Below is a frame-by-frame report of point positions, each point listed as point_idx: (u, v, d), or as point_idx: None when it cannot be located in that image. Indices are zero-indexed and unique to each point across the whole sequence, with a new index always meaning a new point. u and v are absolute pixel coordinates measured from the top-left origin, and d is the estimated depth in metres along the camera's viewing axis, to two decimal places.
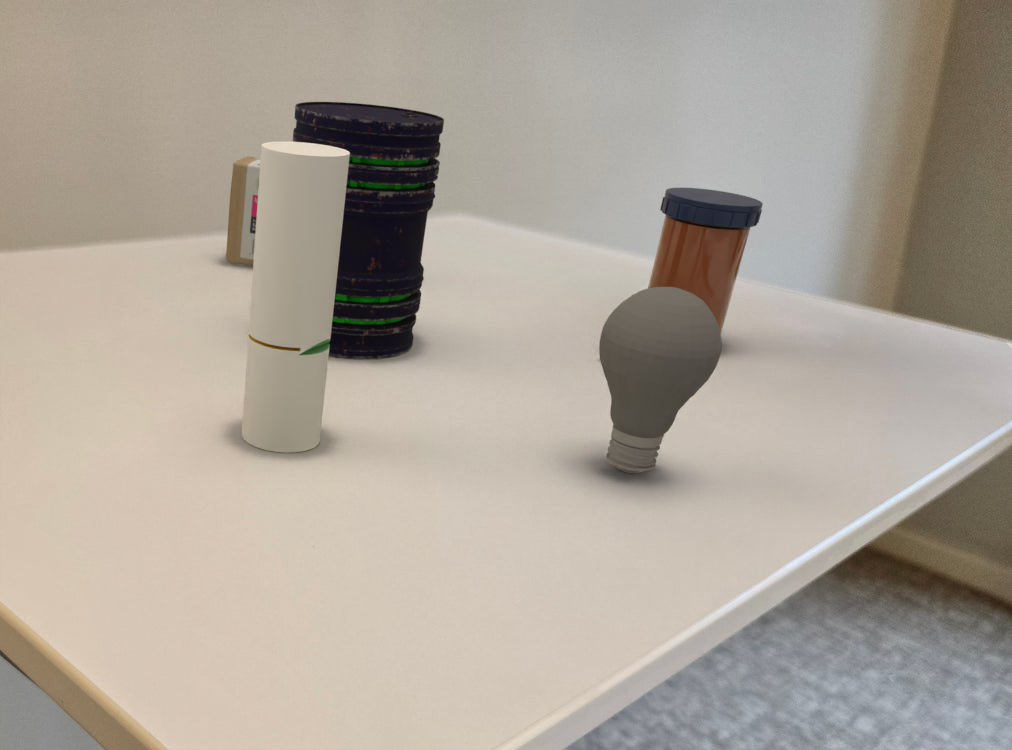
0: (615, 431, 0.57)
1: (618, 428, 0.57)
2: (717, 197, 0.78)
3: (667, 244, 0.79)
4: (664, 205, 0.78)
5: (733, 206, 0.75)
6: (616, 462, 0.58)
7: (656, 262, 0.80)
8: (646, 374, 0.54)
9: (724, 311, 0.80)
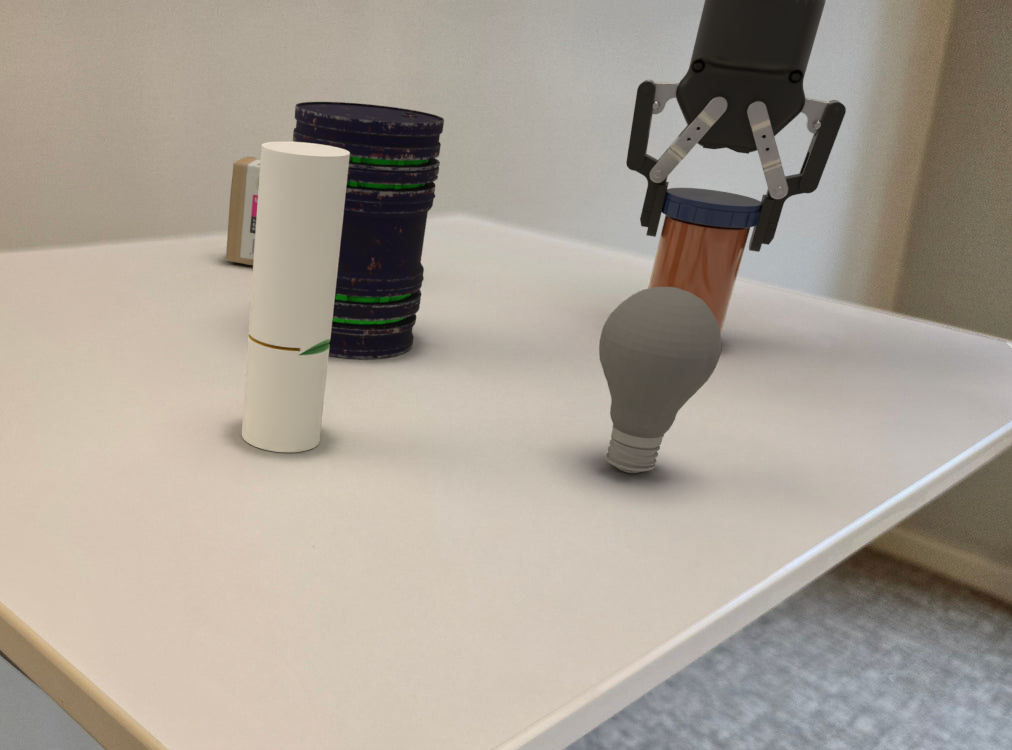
0: (615, 431, 0.57)
1: (618, 428, 0.57)
2: (717, 197, 0.78)
3: (667, 244, 0.79)
4: (664, 205, 0.78)
5: (733, 206, 0.75)
6: (616, 462, 0.58)
7: (656, 262, 0.80)
8: (646, 374, 0.54)
9: (724, 311, 0.80)
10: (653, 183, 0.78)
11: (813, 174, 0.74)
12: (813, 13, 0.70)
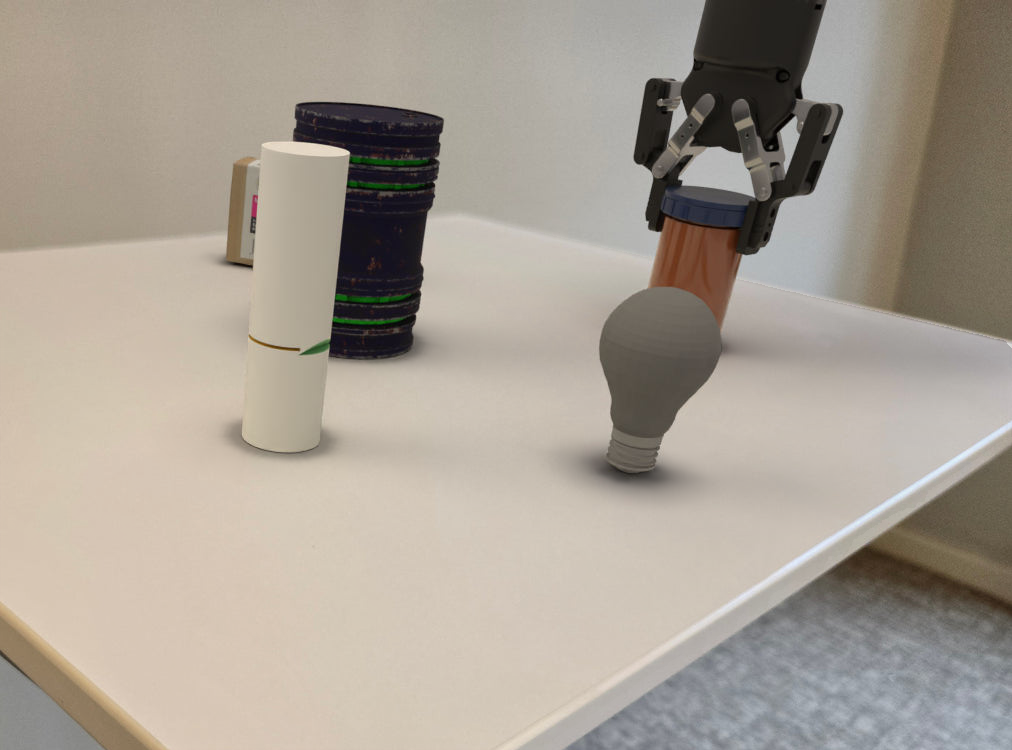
0: (615, 431, 0.57)
1: (618, 428, 0.57)
2: (712, 194, 0.78)
3: (667, 244, 0.79)
4: None
5: (719, 189, 0.80)
6: (616, 462, 0.58)
7: (656, 262, 0.80)
8: (646, 374, 0.54)
9: (724, 311, 0.80)
10: None
11: None
12: None
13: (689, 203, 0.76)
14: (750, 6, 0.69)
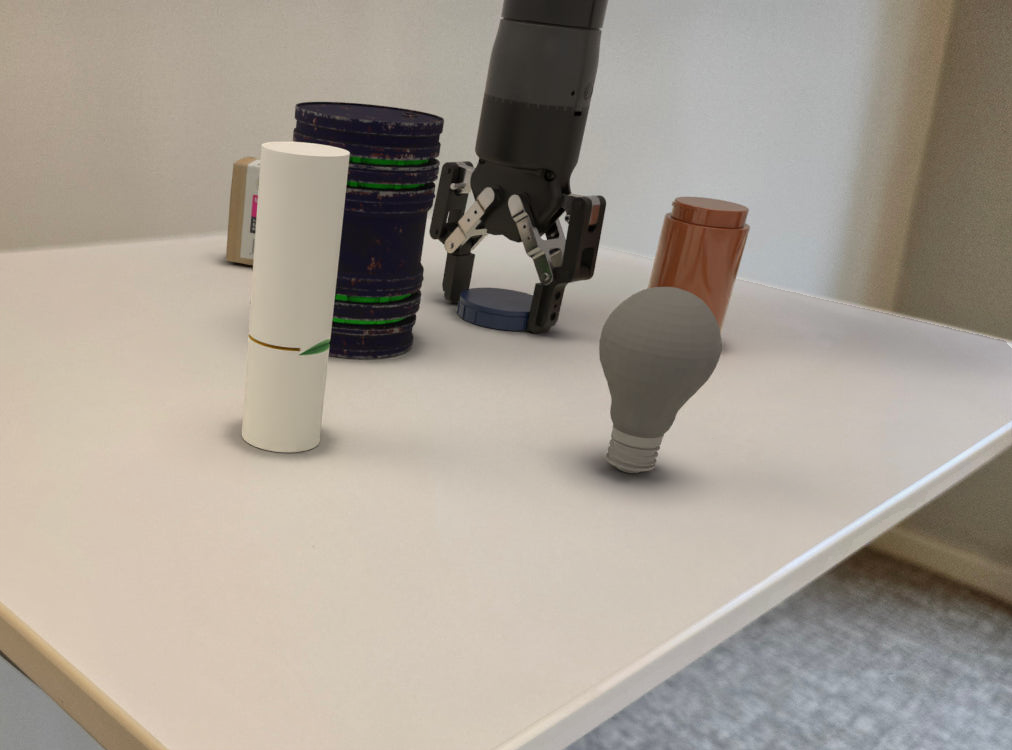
0: (615, 431, 0.57)
1: (618, 428, 0.57)
2: (503, 298, 0.84)
3: (667, 244, 0.79)
4: None
5: (515, 291, 0.86)
6: (616, 462, 0.58)
7: (656, 262, 0.80)
8: (646, 374, 0.54)
9: (724, 311, 0.80)
10: None
11: None
12: None
13: (476, 309, 0.81)
14: (514, 113, 0.74)
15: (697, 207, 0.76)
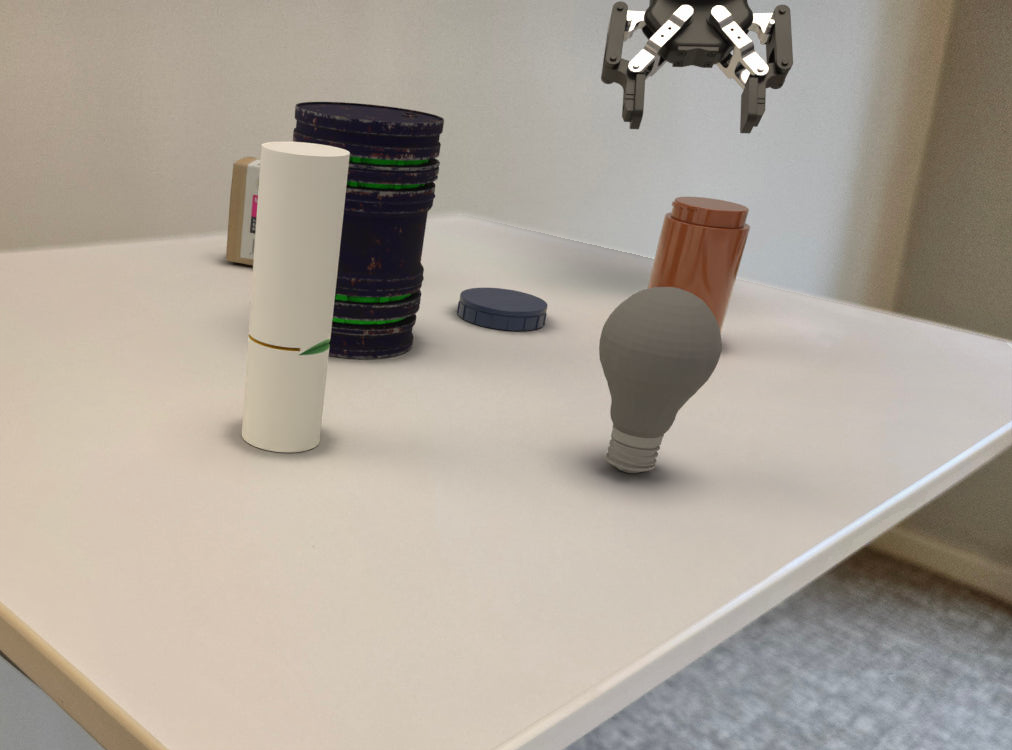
0: (615, 431, 0.57)
1: (618, 428, 0.57)
2: (503, 298, 0.84)
3: (667, 244, 0.79)
4: (542, 320, 0.82)
5: (515, 291, 0.86)
6: (616, 462, 0.58)
7: (656, 262, 0.80)
8: (646, 374, 0.54)
9: (724, 311, 0.80)
10: None
11: None
12: None
13: (476, 309, 0.81)
14: None
15: (697, 207, 0.76)
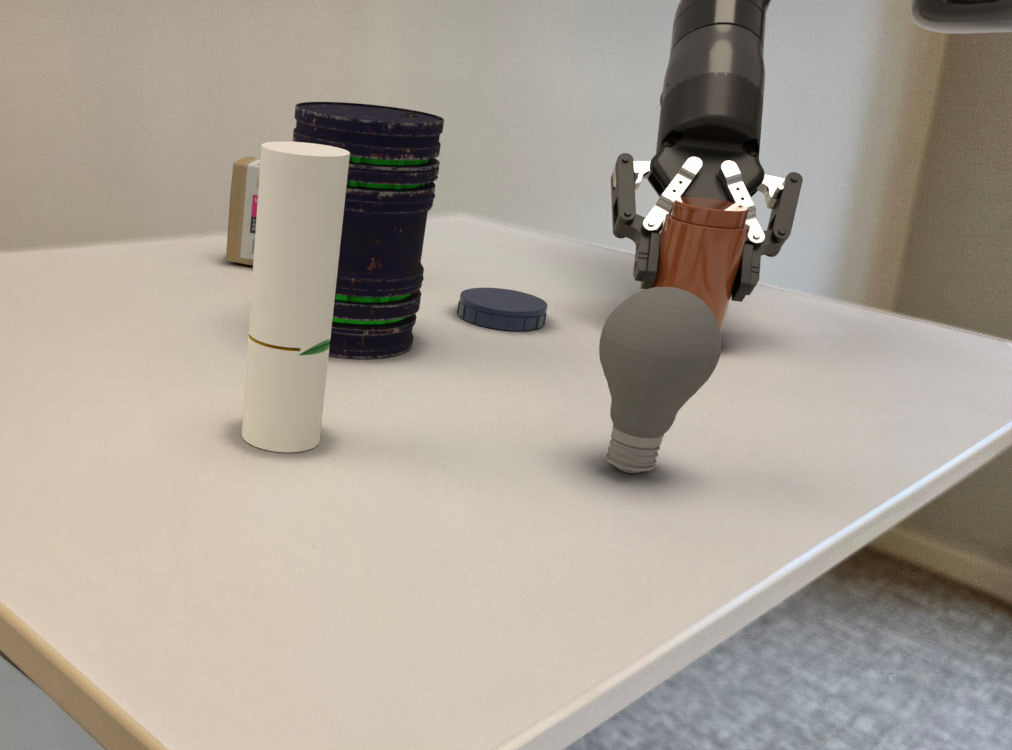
0: (615, 431, 0.57)
1: (618, 428, 0.57)
2: (503, 298, 0.84)
3: (667, 244, 0.79)
4: (542, 320, 0.82)
5: (515, 291, 0.86)
6: (616, 462, 0.58)
7: None
8: (646, 374, 0.54)
9: (724, 311, 0.80)
10: None
11: None
12: None
13: (476, 309, 0.81)
14: (738, 84, 0.80)
15: (697, 207, 0.76)
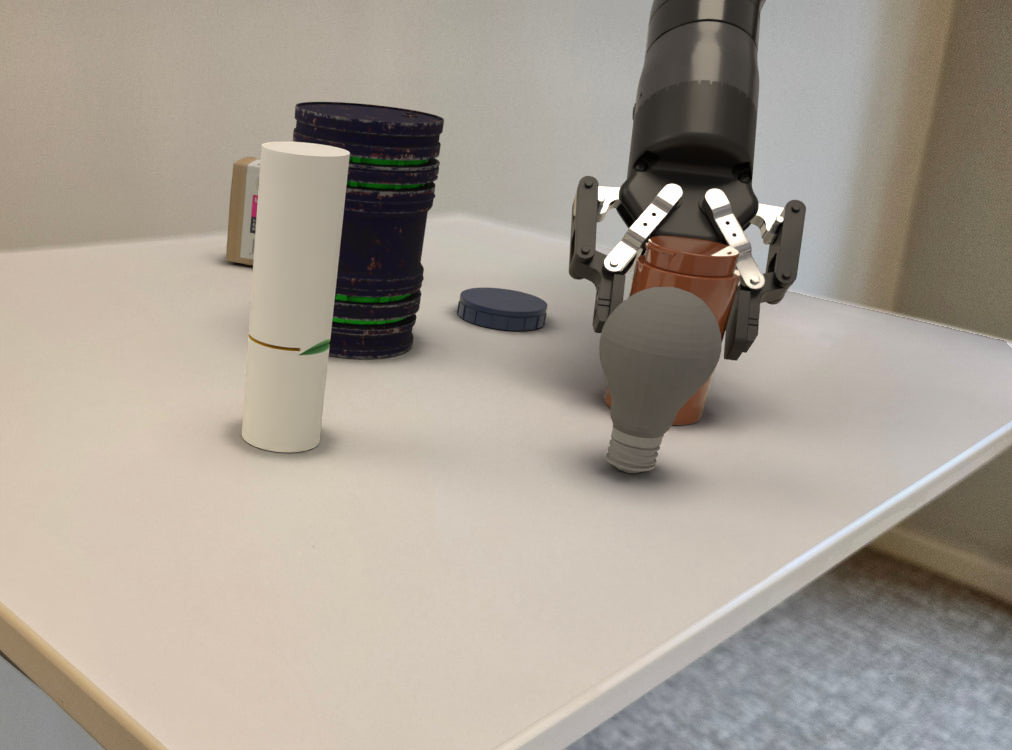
0: (615, 431, 0.57)
1: (618, 428, 0.57)
2: (503, 298, 0.84)
3: None
4: (542, 320, 0.82)
5: (515, 291, 0.86)
6: (616, 462, 0.58)
7: None
8: (646, 374, 0.54)
9: None
10: None
11: None
12: None
13: (476, 309, 0.81)
14: (727, 94, 0.66)
15: (675, 251, 0.62)
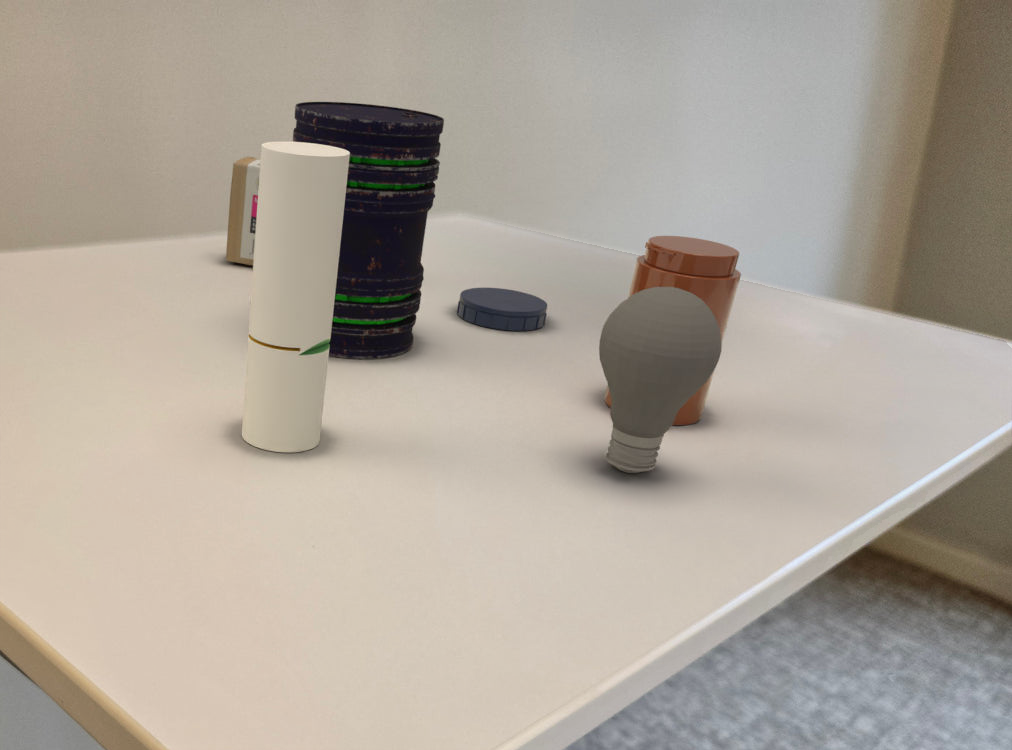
0: (615, 431, 0.57)
1: (618, 428, 0.57)
2: (503, 298, 0.84)
3: None
4: (542, 320, 0.82)
5: (515, 291, 0.86)
6: (616, 462, 0.58)
7: None
8: (646, 374, 0.54)
9: None
10: None
11: None
12: None
13: (476, 309, 0.81)
14: None
15: (675, 251, 0.62)
